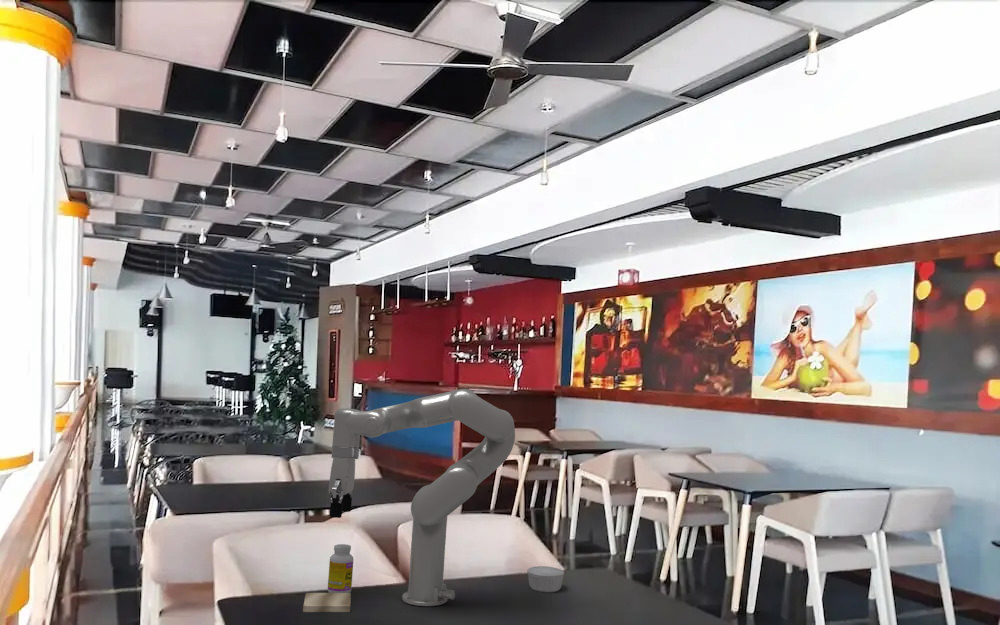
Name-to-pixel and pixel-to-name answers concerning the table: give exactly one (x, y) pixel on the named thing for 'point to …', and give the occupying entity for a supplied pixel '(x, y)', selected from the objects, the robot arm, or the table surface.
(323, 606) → the birch board
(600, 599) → the table surface
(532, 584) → the ramekin
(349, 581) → the supplement bottle
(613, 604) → the table surface
